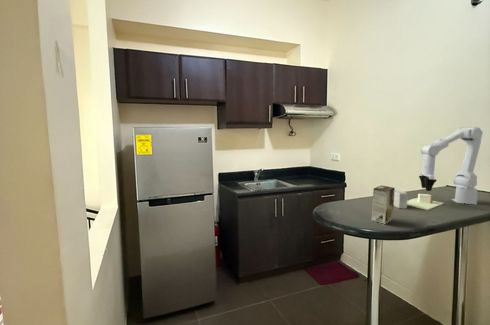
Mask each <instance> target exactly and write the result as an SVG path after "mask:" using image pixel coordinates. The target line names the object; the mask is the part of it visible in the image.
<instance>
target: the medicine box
mask: <svg viewBox="0 0 490 325" xmlns="http://www.w3.org/2000/svg"><path fill="white" fill-rule="evenodd" d="M408 199H409V198H408V193H407V192H406V191H402V190H400V189H395V190H394V206H393V207H396V208H398V209H399V208H402V210H403V209H405V210H406V209H407V208H408V205H407V201H408Z"/></svg>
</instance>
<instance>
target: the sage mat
mask: <svg viewBox="0 0 490 325" xmlns="http://www.w3.org/2000/svg"><path fill="white" fill-rule="evenodd" d="M442 205H444V202H441V201H435V200H433V201H432V203H419V202H418V197H416V198H411V199H409V200H408V199H407V207H408V206H409V207H413V208H417V209H422V210H426V211H429V210H432V209H434V208H437V207H440V206H442Z"/></svg>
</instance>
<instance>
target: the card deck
mask: <svg viewBox="0 0 490 325" xmlns="http://www.w3.org/2000/svg"><path fill="white" fill-rule="evenodd" d="M417 198H418V202H419V203H432V201H434V200H433V199H434V195H432V194H427V193H426V194H425V193H418V194H417Z"/></svg>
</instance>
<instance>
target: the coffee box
mask: <svg viewBox="0 0 490 325" xmlns="http://www.w3.org/2000/svg"><path fill="white" fill-rule="evenodd" d="M394 190H396V189H395V187H393V186H388V185H379V186H376V187H375V188H374V187H373V192H372V193H373V194H372V195H373V196H372V206H371V207H372V209H371V221H372V220H374V221H377V222H380V223H384V224H386V223H387V224H389V223H390V222H391V220H392V221H393V217H394V206H393V205H394ZM389 221H390V222H389ZM388 222H389V223H388ZM380 223H379V224H380ZM384 224H383V225H384ZM387 224H386V225H387Z"/></svg>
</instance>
